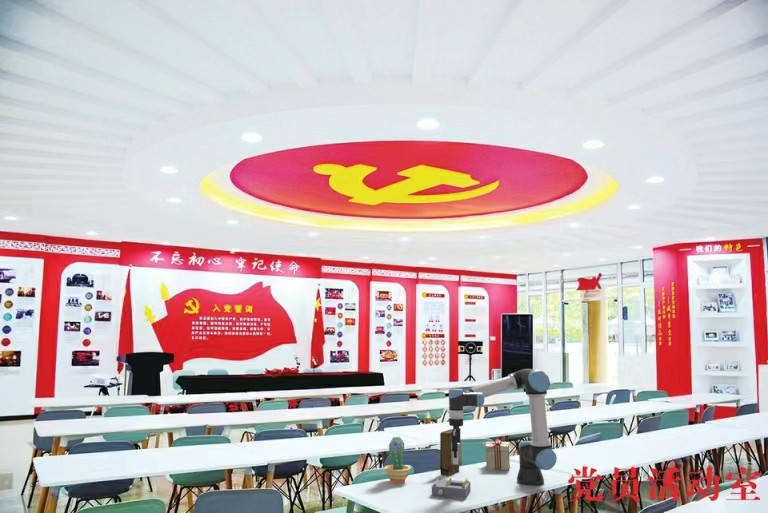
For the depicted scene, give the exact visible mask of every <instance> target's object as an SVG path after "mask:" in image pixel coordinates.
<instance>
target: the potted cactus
mask: <svg viewBox="0 0 768 513" xmlns="http://www.w3.org/2000/svg"><path fill="white" fill-rule="evenodd" d="M388 452H389V455H390V457H391V462H392V464H389V465H385V466H384V471H385V472H386V474H387V477H388V479H389V483H391V484H393V485H401V484H405V483H406V479H407V478H408V477H409V473H410V472H411V469H412V468H411V466H408V465H406V464H404V452H405V443H404V441H403V439H402V437H401V436H399V437H398V436H393V437H392V438H391V440H390V442H389V444H388Z"/></svg>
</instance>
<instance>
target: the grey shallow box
mask: <svg viewBox="0 0 768 513" xmlns="http://www.w3.org/2000/svg"><path fill="white" fill-rule="evenodd" d="M471 488H472V487H471V481H470V480H468V478H467V477H465V478H464V479H463V480H455V479H454V480H452V476H448V478H447V479H442V478H437V479H436V480H435V481H434V483H432V485H431V497H439V498H447V497H449V498H450V499H458V498H462V499H461V500H467V498H468V497H469V495H470V493H471V490H472V489H471ZM467 496H468V497H467Z"/></svg>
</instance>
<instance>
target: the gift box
mask: <svg viewBox="0 0 768 513" xmlns="http://www.w3.org/2000/svg"><path fill="white" fill-rule="evenodd" d="M483 445H485V447H484V448H485V450H484V451H485V461H486V462H485V463H486V464H485V465H486V466H485V467H486V468H485V469H486V470H488V471H510V470H511V466H510V442H508V441H502V440H500V439H498V438H496V439H495V441H484V442H483V443H482V444H481V445H480V446H483Z"/></svg>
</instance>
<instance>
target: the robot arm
mask: <svg viewBox="0 0 768 513" xmlns="http://www.w3.org/2000/svg"><path fill="white" fill-rule="evenodd" d="M550 382H551V381H550V378H549V376H548V373H546V372H545V371H543V370H540V369H536V368H533V369H532V368H523V369H520V370H517V371H515V372H511V373H509V374H508V375H507V376H505V377H501V378H498V379H495V380H492V381H488V382H485V383H482V384H479V385H476V386H473V387H469V388H466V389H463V388H451V389H449V390H448V392H449V393H448V408H449V409H448V410H449V411H448V412H447V413H448V414H449V415H448V417H449V418H448V420H449V423H448V424H449V426H450V427H452V428H451V429H452V450H451V451H453V464H458V442H460V443H462V442H461V430H462V429H461V427H463V426H464V419H463V418H464V407H476V408H477V407H478V408H479V407H483V406H484V404H485V398H488V397H491V396H495V395H498V394H501V393H504V392H507V391H511V390H513V391H517V390H521V389H522V390H525V395H526V396H527V397H528V402H529V411H530V412H529V413H530V414H529V415H530V423H531V436H532V437H531V438H532V440H524V441H523V440H522V441H520V442H519V444H518V445H519V446H518V450H519V451H518V452H519V453H518V454H519V456H518V457H519V459H518V460H519V469H518V471H517V472H518V473H517V476H516V482H517V484H520V485H523V486H532V487H533V486H535V487H536V486H542V485H544V484H545V479H544V475H543V473H542V470H543V471H549V470H552V469H553V468H554V467H555V465H556V463H557V453H556V452H555V451H554V450H553V445H552V443H551V441H550V440H549V432H548V422H547V410H546V398H545V397H546V396H547V394H548V391H547V390H548V389H549V387H550ZM455 448H456V449H455Z"/></svg>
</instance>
